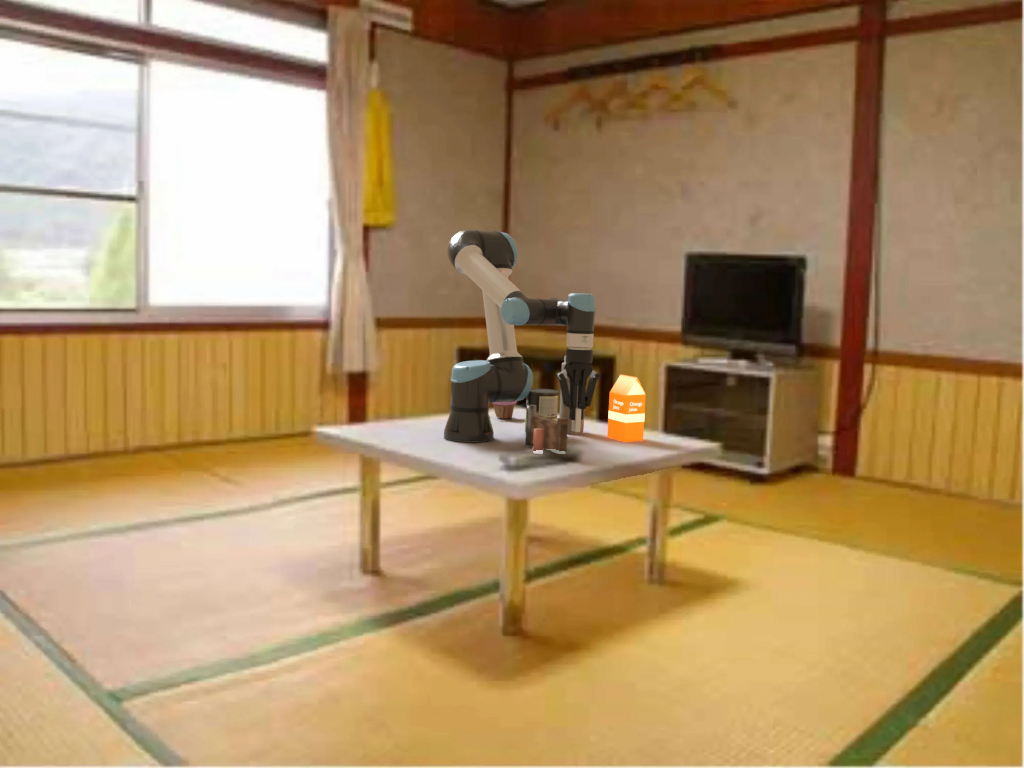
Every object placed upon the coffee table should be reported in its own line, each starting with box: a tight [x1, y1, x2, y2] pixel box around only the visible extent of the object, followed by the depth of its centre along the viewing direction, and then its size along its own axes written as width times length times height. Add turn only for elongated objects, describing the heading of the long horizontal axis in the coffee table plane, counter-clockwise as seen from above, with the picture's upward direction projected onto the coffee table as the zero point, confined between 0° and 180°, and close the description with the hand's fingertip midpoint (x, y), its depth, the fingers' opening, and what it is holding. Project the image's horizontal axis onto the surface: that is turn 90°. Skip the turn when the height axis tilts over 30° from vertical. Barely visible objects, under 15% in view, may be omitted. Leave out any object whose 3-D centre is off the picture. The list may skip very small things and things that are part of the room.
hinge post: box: [524, 405, 536, 447], centre depth 278 cm, size 3×3×12 cm
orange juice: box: [607, 373, 647, 443], centre depth 296 cm, size 8×9×20 cm
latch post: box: [532, 428, 545, 452], centre depth 266 cm, size 3×3×7 cm
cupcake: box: [492, 401, 518, 420], centre depth 328 cm, size 9×9×10 cm
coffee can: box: [524, 388, 560, 435], centre depth 297 cm, size 10×10×14 cm
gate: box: [531, 415, 568, 453], centre depth 268 cm, size 18×2×10 cm, turn 26°
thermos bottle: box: [558, 355, 586, 435], centre depth 303 cm, size 8×8×28 cm
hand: (575, 431), depth 267 cm, fingers closed
